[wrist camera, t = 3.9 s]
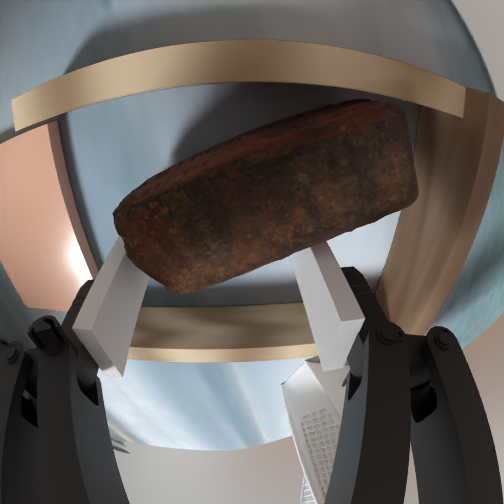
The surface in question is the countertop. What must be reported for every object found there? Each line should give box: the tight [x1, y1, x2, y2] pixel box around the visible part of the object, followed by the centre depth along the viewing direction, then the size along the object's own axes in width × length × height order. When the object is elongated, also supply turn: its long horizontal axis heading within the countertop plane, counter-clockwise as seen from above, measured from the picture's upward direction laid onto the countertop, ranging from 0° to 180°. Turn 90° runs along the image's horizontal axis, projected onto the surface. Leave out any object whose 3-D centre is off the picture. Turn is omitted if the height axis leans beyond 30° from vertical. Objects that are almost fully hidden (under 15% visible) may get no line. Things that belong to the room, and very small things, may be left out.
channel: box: [12, 40, 504, 362], centre depth 12 cm, size 20×16×5 cm
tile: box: [0, 120, 99, 311], centre depth 13 cm, size 9×13×1 cm
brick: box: [113, 99, 419, 295], centre depth 10 cm, size 11×4×5 cm, turn 111°
